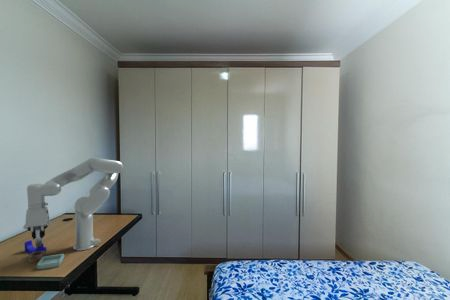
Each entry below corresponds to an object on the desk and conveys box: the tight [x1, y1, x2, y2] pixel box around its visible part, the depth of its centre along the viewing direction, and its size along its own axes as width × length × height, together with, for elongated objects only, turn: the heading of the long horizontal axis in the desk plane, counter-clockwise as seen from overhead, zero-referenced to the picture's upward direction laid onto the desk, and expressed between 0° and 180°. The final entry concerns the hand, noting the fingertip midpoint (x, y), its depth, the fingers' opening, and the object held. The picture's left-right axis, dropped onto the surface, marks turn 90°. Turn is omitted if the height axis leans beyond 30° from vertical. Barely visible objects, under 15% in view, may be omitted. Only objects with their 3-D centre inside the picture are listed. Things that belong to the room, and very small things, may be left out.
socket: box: [27, 251, 46, 263], centre depth 135 cm, size 6×6×3 cm
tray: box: [35, 253, 65, 271], centre depth 129 cm, size 10×10×2 cm
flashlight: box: [34, 226, 43, 248], centre depth 135 cm, size 4×4×11 cm
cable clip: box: [24, 240, 47, 254], centre depth 143 cm, size 12×4×6 cm, turn 70°
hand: (38, 237), depth 135 cm, fingers closed on flashlight, 3 cm apart
